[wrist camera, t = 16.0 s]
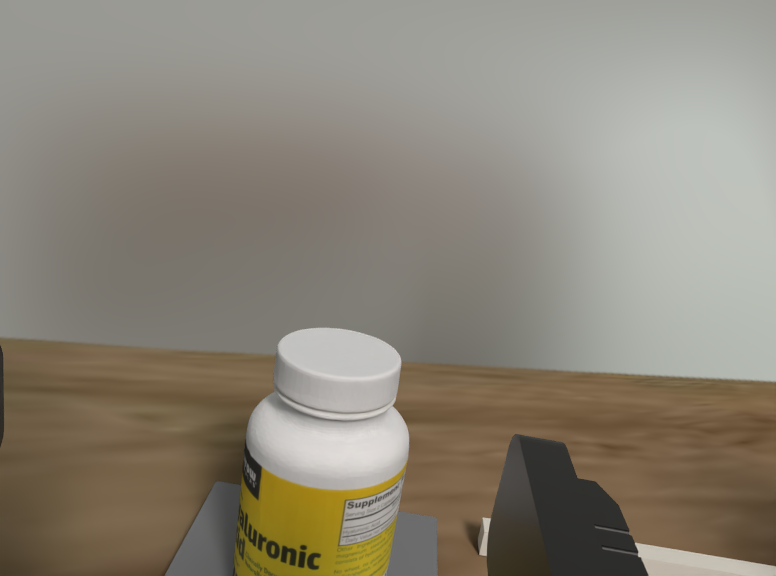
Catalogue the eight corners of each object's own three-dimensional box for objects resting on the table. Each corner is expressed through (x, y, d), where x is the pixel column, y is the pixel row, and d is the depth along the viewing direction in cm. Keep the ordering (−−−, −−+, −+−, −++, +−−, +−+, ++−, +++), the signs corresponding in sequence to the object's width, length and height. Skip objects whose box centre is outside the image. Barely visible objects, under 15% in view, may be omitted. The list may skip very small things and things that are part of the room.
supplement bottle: (200, 585, 24) (221, 331, 21) (318, 532, 28) (349, 310, 25) (289, 691, 21) (328, 403, 18) (411, 614, 24) (459, 366, 22)
